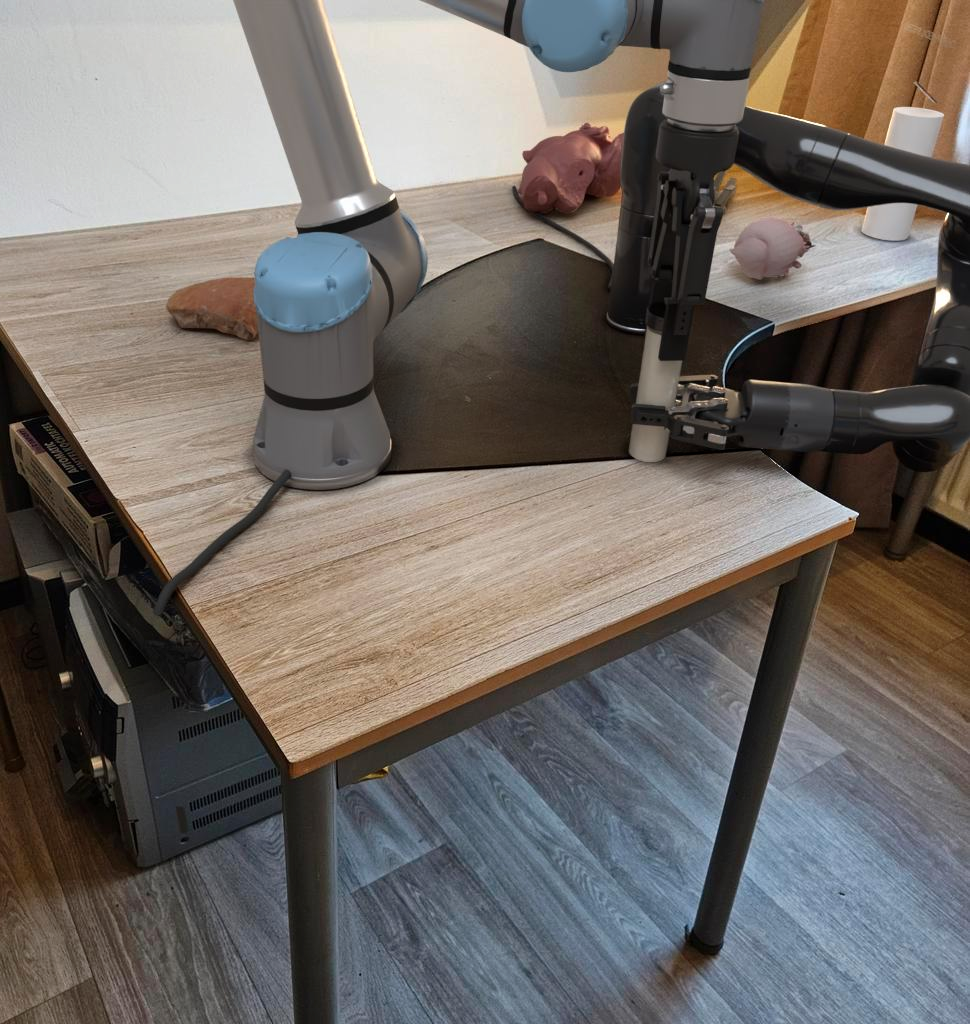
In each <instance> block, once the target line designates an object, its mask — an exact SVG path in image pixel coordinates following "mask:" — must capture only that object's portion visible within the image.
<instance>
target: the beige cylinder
mask: <svg viewBox="0 0 970 1024" xmlns="http://www.w3.org/2000/svg"><path fill="white" fill-rule="evenodd" d="M661 336H662V332H659V331H656V330H653V329H651V328H649V327H648V326H647V330H646V336H645V337H644V344H643V349H642V357H641V364H640V370H639V377H638V383H637V384H638V390H637V397H636V404H646V405H657V406H665V407H666V410H667V408H668V407H675V401H676V395H677V390H678V384H679V378H680V376H681V371H682V367H683V361H660V360H659V359H658V355H659V349H660V342H661ZM631 424H632V423H631ZM670 435H671V432H670V431H666V430H665V429H664V427H661V426H650V425H638V424H632V425H631V431H630V436H629V437H630V438H629V446H628V453H629V455H630V456H631V457H632V458H634V459H635V460H637V461H640V462H644V463H658V462H661V461H663V460H664V459H665V458H666V457H667V452H668V446H669V441H670Z"/></svg>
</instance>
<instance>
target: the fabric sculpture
mask: <svg viewBox="0 0 970 1024" xmlns="http://www.w3.org/2000/svg"><path fill="white" fill-rule="evenodd" d="M610 130H611V129H610V127H608V126H607V125H605V126H604V125H602V126H600V127H598V126H592V125H591V124H590V123H589V122H585V123H584V124H581V126H580V127H579V129H576V130H573V131H570V132H568V133H566V134H565V135H554V136H549V137H546V138H544V139H542V140H540V141H539V142H538V143H536V145H535V146H534V147H532V148H531V149H529V150H523V151H522V153H521V156H522V158H523V160H524V162H525V163H526V164H525V166H524V168H523V170H522V172H521V173H522V174H521V180H520V181H521V182H520V185H519V186H518V188H517V191H518V194H519V195H520V197H521V201H522V202H523V204H524V207H525V208H526V209H525V208H524V207H523V208H524V209H525V210H527V211H528V209H529V210H530V211H533V212H538V213H540V214H546V213H549V212H551V211H552V210H553V209H554V208H555V209H556V210H557V211H559V212H560V213H564V214H569V213H573V212H575V211H578V209H579V208H581V206H582V203H584V199H585V195H591V196H593V197H596V198H599V197H604V198H606V197H608V198H610V197H613V196H614V195H617V194H618V192H619V191H620V189H621V185H620V170H621V158H622V147H623V137H624V132H621V133H618V135H617V136H615V137H614V138H612V137H611V136H610V135H609V134H610Z"/></svg>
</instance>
